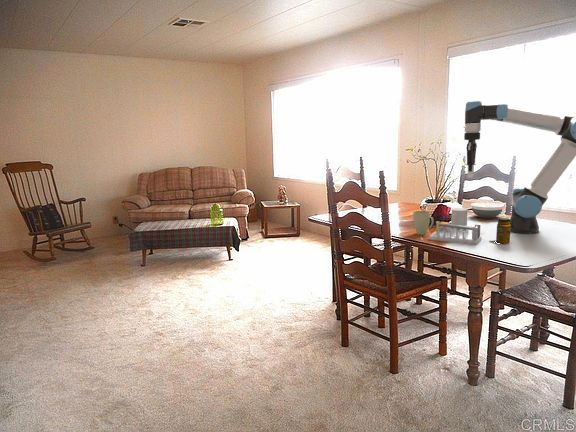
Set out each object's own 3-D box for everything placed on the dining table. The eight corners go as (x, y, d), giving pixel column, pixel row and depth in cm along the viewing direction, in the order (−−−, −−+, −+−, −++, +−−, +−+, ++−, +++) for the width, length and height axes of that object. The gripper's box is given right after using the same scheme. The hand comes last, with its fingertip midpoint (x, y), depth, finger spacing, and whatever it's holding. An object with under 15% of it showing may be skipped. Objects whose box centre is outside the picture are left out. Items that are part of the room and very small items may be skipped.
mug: (411, 235, 225) (412, 213, 222) (413, 231, 234) (413, 210, 231) (433, 236, 221) (433, 214, 218) (434, 232, 230) (434, 211, 227)
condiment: (513, 243, 201) (515, 219, 198) (498, 245, 199) (500, 221, 197) (503, 240, 208) (504, 216, 205) (488, 241, 206) (489, 218, 204)
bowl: (474, 213, 274) (474, 201, 272) (505, 215, 263) (506, 203, 261) (467, 218, 259) (467, 206, 257) (500, 221, 248) (501, 208, 246)
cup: (468, 231, 227) (468, 210, 224) (452, 231, 228) (453, 210, 226) (464, 228, 234) (465, 207, 232) (449, 228, 236) (450, 208, 234)
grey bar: (479, 230, 207) (479, 225, 207) (477, 232, 204) (478, 227, 203) (440, 226, 218) (440, 221, 217) (438, 227, 215) (438, 223, 214)
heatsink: (481, 239, 211) (482, 223, 210) (476, 244, 202) (477, 228, 200) (435, 234, 224) (436, 220, 223) (429, 239, 215) (429, 224, 213)
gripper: (467, 132, 221) (465, 176, 225) (461, 132, 210) (460, 178, 215) (482, 131, 217) (480, 176, 221) (477, 132, 206) (475, 179, 211)
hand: (470, 177), depth 218 cm, fingers closed
